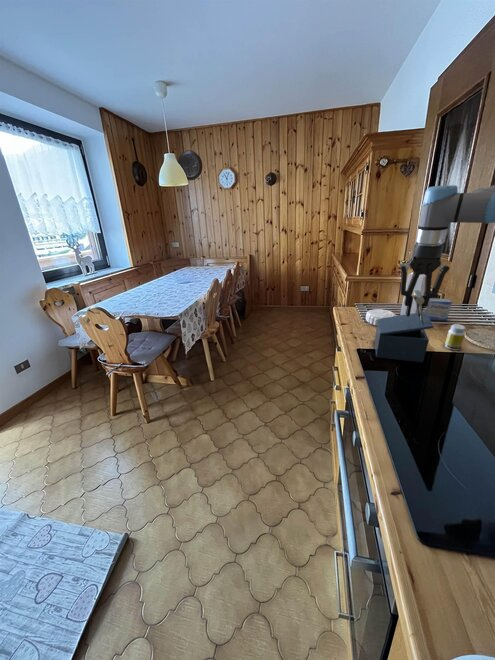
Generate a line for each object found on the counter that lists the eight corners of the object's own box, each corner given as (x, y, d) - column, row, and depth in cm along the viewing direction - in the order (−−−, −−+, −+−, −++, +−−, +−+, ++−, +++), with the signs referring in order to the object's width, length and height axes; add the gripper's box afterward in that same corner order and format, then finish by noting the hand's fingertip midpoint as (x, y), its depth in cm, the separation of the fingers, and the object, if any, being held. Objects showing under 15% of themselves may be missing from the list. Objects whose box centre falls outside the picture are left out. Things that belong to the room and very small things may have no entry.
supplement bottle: (463, 350, 100) (470, 329, 97) (449, 350, 101) (456, 329, 97) (454, 343, 105) (461, 323, 101) (441, 344, 105) (447, 323, 101)
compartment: (416, 345, 105) (422, 324, 101) (422, 362, 95) (428, 340, 91) (374, 341, 110) (377, 320, 106) (376, 357, 100) (379, 335, 96)
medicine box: (426, 319, 123) (430, 301, 119) (423, 315, 127) (428, 297, 123) (447, 321, 121) (452, 302, 117) (443, 316, 124) (449, 298, 120)
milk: (419, 314, 128) (431, 266, 118) (414, 318, 125) (426, 269, 114) (405, 310, 132) (415, 264, 122) (399, 315, 129) (409, 267, 118)
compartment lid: (426, 313, 99) (423, 286, 95) (433, 328, 89) (430, 298, 86) (378, 320, 106) (373, 295, 102) (380, 335, 96) (375, 308, 92)
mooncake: (376, 328, 119) (377, 321, 117) (360, 317, 129) (361, 310, 127) (401, 324, 120) (403, 316, 119) (383, 313, 131) (385, 306, 129)
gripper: (456, 240, 85) (437, 312, 96) (398, 241, 90) (386, 309, 101) (464, 246, 79) (443, 321, 89) (401, 246, 84) (388, 317, 94)
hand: (413, 314), depth 95 cm, fingers open, 3 cm apart
